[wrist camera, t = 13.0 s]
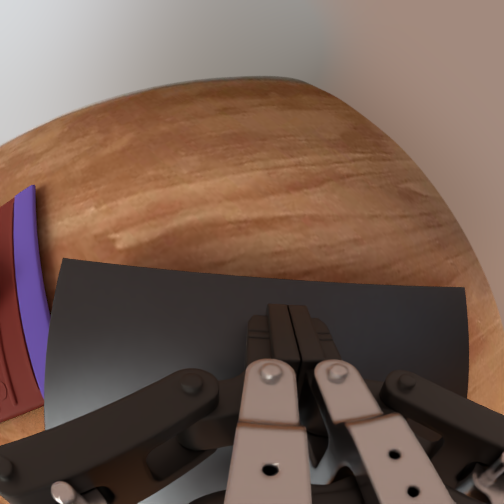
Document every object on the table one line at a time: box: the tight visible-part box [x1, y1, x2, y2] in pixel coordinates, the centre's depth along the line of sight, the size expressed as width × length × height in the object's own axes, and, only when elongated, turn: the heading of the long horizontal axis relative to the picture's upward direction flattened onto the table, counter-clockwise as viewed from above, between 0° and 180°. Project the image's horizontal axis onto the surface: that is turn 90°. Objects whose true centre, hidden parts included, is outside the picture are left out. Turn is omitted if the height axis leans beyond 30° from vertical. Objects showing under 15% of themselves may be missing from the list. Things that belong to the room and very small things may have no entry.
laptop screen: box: [44, 258, 469, 504], centre depth 9 cm, size 16×22×1 cm
